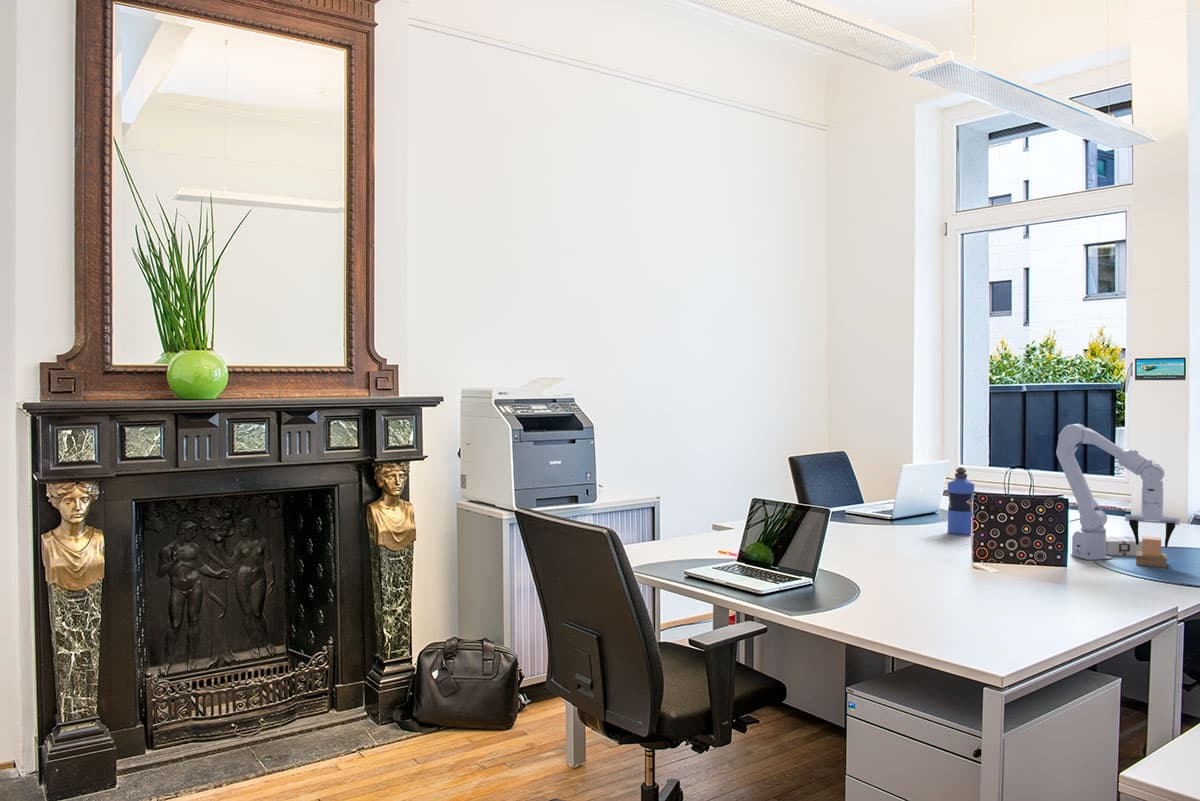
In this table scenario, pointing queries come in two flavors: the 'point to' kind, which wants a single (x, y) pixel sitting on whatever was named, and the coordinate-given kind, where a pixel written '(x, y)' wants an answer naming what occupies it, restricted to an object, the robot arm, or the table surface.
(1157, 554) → the terracotta cube
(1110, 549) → the ink box
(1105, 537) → the robot arm
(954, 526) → the water bottle
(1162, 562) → the walnut slab
